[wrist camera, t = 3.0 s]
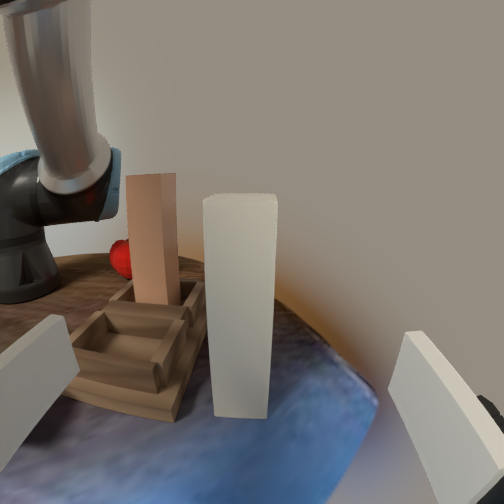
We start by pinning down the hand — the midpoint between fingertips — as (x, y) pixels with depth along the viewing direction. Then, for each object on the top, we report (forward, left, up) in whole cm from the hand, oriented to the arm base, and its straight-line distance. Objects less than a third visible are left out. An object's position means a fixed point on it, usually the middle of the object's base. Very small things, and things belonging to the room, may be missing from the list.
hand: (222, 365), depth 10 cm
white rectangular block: (-10, +3, -11) cm, 15 cm away
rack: (-19, -6, -11) cm, 23 cm away
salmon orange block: (-24, -5, -9) cm, 27 cm away
